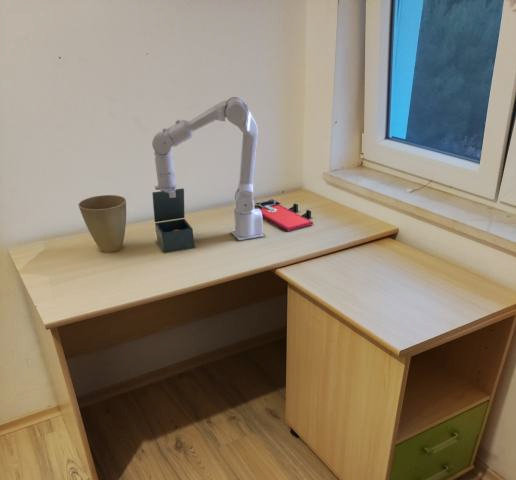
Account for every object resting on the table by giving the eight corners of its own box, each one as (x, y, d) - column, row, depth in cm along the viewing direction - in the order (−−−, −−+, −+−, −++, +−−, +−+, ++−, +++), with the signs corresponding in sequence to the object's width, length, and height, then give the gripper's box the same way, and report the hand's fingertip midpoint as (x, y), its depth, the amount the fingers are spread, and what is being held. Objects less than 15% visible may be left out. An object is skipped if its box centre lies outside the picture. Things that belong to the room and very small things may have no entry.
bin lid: (184, 189, 166) (183, 188, 166) (152, 193, 163) (152, 192, 163) (184, 217, 174) (183, 216, 175) (154, 222, 171) (154, 221, 172)
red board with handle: (276, 200, 209) (245, 208, 202) (276, 193, 207) (244, 201, 201) (320, 223, 188) (287, 232, 182) (321, 216, 186) (287, 225, 180)
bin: (194, 247, 171) (192, 228, 167) (164, 252, 167) (161, 233, 164) (186, 236, 179) (184, 218, 175) (157, 241, 175) (154, 222, 172)
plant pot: (139, 240, 176) (132, 195, 167) (123, 258, 164) (115, 210, 155) (99, 238, 178) (90, 193, 169) (80, 255, 166) (70, 208, 157)
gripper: (148, 168, 169) (153, 207, 176) (158, 179, 158) (163, 221, 165) (169, 165, 171) (173, 204, 179) (180, 176, 160) (184, 218, 167)
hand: (170, 212), depth 172 cm, fingers closed
